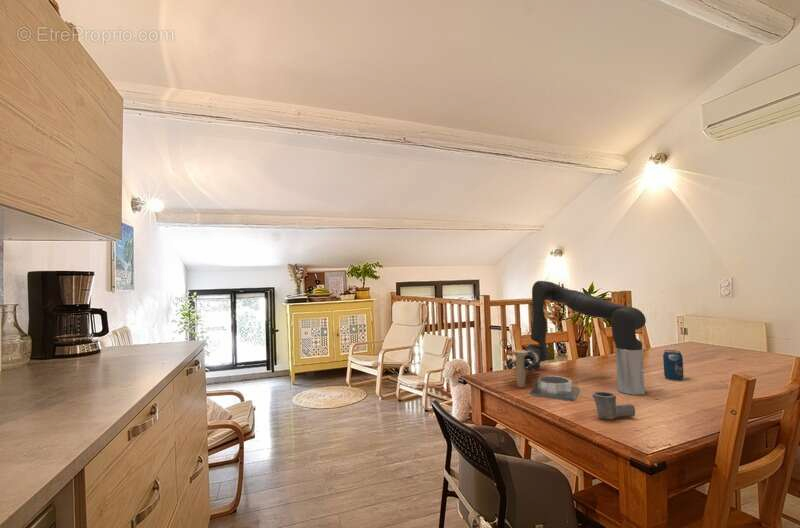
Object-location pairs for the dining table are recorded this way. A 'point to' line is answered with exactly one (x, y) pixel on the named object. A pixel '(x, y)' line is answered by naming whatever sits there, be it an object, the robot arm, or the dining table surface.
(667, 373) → the soda can
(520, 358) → the grey upright column
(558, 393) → the duct collar
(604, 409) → the pipe
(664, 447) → the dining table surface
